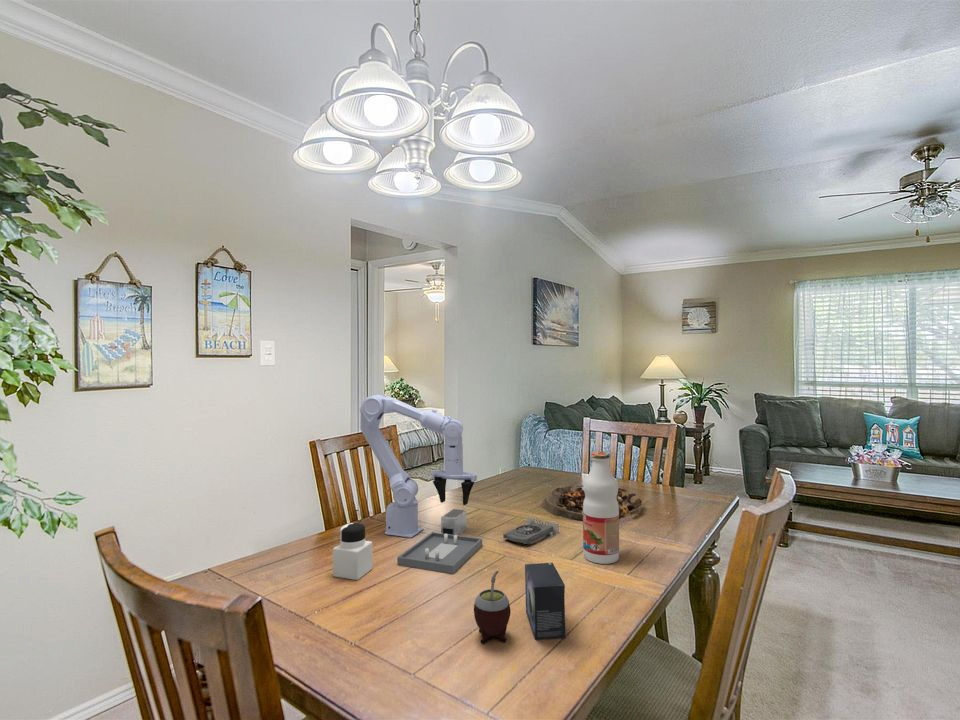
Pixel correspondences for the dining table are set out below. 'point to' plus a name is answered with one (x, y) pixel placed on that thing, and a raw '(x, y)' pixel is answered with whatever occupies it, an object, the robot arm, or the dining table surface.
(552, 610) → the small box
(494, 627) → the mate gourd
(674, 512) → the dining table surface
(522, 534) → the graphics card
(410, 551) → the tray
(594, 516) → the fruit juice
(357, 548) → the medicine bottle
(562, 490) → the food dish
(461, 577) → the dining table surface
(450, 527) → the block
